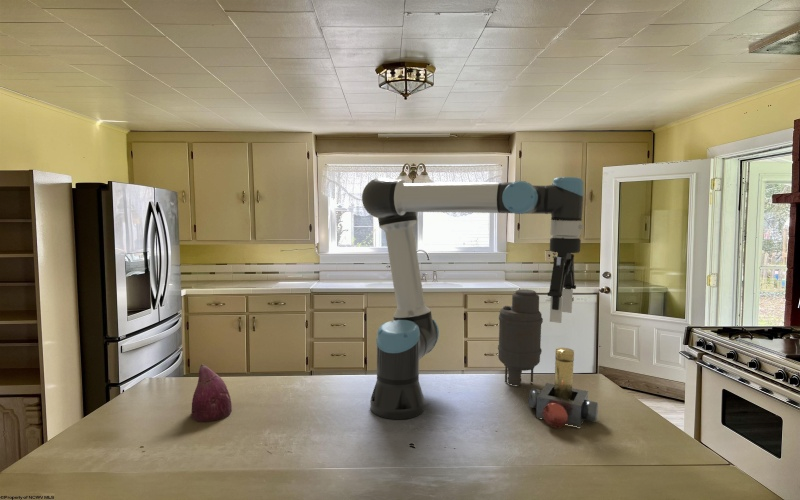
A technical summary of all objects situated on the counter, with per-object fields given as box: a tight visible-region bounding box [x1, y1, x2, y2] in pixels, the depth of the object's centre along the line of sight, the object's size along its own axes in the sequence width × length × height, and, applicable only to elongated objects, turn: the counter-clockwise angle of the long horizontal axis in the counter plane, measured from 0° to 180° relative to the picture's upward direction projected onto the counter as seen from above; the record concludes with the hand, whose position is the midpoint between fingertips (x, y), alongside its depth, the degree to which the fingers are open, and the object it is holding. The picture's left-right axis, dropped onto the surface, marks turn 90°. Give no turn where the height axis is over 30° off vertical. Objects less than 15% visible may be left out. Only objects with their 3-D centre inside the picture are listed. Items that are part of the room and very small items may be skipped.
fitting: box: [554, 347, 575, 400], centre depth 119 cm, size 5×5×15 cm
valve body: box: [527, 382, 599, 429], centre depth 118 cm, size 17×15×6 cm
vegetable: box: [190, 363, 233, 423], centre depth 118 cm, size 10×10×15 cm
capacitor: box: [497, 289, 544, 386], centre depth 142 cm, size 14×14×30 cm
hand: (561, 316), depth 118 cm, fingers open, 13 cm apart
